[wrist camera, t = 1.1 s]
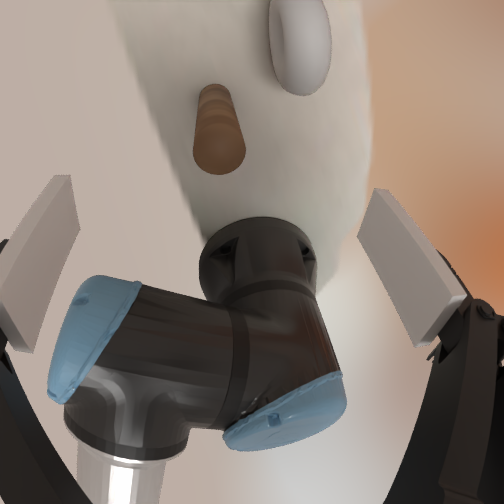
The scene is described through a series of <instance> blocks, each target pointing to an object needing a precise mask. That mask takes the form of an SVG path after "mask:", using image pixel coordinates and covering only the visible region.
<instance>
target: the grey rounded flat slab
mask: <svg viewBox="0 0 504 504" xmlns="http://www.w3.org/2000/svg"><path fill="white" fill-rule="evenodd" d="M269 39H270V49H271V55H272V61H273V66H274V70H275V74H276V77H277V79H278V81H279V82H280V84H281V86H282V87H283V88H284V89H285V90H286V91H287V92H289V93H292V94H294V95H299V96H307V95H311V94H312V93H314V92H316V91H317V90H318V89H319V88H320V87H321V86H322V84H323V83H324V81H325V79H326V76H327V73H328V70H329V66H330V60H331V45H332V40H331V29H330V23H329V18H328V14H327V11H326V9H325V6H324V4H323V2H322V0H271V2H270V7H269Z"/></svg>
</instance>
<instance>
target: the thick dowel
mask: <svg viewBox="0 0 504 504" xmlns="http://www.w3.org/2000/svg"><path fill="white" fill-rule="evenodd" d="M245 153H246V147H245V143H244V139H243V136H242V133H241V129H240V126H239V123H238V119H237V116H236V113H235V109H234V106H233V103H232V99H231V96H230V93H229V91H228V90H227V89H226V88H225V87H224V86H222V85H219V84H211V85H208V86H207V87H205V88H204V89H203V90H202V91H201V93H200V96H199V104H198V112H197V120H196V128H195V137H194V146H193V156H194V160H195V162H196V163H197V165H198V166H199V167H200V168H201V169H202V170H204V171H205V172H207V173H210V174H214V175H223V174H227V173H230V172H232V171H234V170H235V169H237V168H238V167H239V166H240V165H241V163H242V162H243V160H244V157H245Z"/></svg>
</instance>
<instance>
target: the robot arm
mask: <svg viewBox="0 0 504 504" xmlns="http://www.w3.org/2000/svg"><path fill="white" fill-rule="evenodd" d="M79 230H80V226H79V222H78V216H77V211H76V206H75V201H74V196H73V189H72V184H71V177H70V175H55V176H54V177H53V178H52V179H51V181H50V182H49V183H48V184H47V186H46V187H45V189H44V190H43V191H42V192H41V194H40V195H39V197H38V198H37V200H36V201H35V202H34V203H33V205H32V206H31V208H30V209H29V210H28V212H27V213H26V215H25V216H24V218H23V219H22V221H21V222H20V224H19V225H18V227H17V228H16V230H15V231H14V233H13V234H12V236H11V237H10V239H8V240H7V239H4V240H3V241H2V242H1V243H0V496H1V498H2V500H3V501H4V503H5V504H158V503H159V498H160V492H161V486H162V481H163V476H164V470H165V465H166V461H169V460H171V459H174V458H176V457H177V456H179V455H180V454H181V453H182V452H183V451H184V450H185V448H186V444H187V441H188V436H189V432H190V429H191V428H202V429H205V428H206V429H216V430H217V429H218V430H222V431H224V434H223V440H224V441H225V443H226V445H227V446H228V447H229V448H230V449H232V450H237V451H258V450H265V449H270V448H275V447H279V446H284V445H287V444H291V443H294V442H297V441H299V440H302V439H305V438H307V437H310V436H312V435H314V434H317V433H319V432H320V431H322V430H324V429H326V428H328V427H329V426H330V425H332V424H334V423H335V422H336V421H337V420H338V419H339V418H340V417H341V416H342V415H343V413H344V411H345V409H346V405H347V399H346V394H345V390H344V386H343V382H342V376H343V374H342V372H341V370H340V367H339V364H338V361H337V358H336V355H335V352H334V350H333V346H332V344H331V341H330V338H329V335H328V332H327V329H326V327H325V324H324V321H323V318H322V315H321V312H320V310H319V307H318V304H317V301H316V298H315V292H316V277H317V261H316V256H315V253H314V250H313V248H312V245H311V243H310V241H309V239H308V238H307V236H306V235H305V234H304V233H303V232H302V231H301V230H300V229H299V228H297V227H296V226H294V225H293V224H291V223H288V222H286V221H283V220H280V219H275V218H262V217H261V218H250V219H245V220H241V221H238V222H236V223H233V224H231V225H229V226H227V227H225V228H223V229H222V230H220V231H219V232H217V233H216V234H215V235H214V236H213V237H212V238H211V239H210V240H209V241H208V242H207V244H206V245H205V247H204V249H203V251H202V253H201V256H200V260H199V280H200V285H201V288H202V290H203V293H204V295H205V297H206V299H207V301H206V300H202V299H198V298H194V297H190V296H186V295H182V294H177V293H174V292H170V291H166V290H162V289H158V288H154V287H151V286H147V285H143V284H142V283H141V282H139V281H134V282H130V281H126V280H121V279H117V278H113V277H108V276H103V275H96V276H92V277H90V278H88V279H87V280H86V281H84V283H82V285H81V286H80V288H79V289H78V290H77V292H76V294H75V296H74V298H73V300H72V302H71V304H70V307H69V309H68V311H67V314H66V316H65V319H64V322H63V324H62V327H61V330H60V333H59V336H58V339H57V342H56V345H55V349H54V353H53V356H52V360H51V365H50V369H49V374H48V382H47V383H48V389H47V394H48V396H49V398H51V399H52V400H54V401H55V402H56V403H58V404H64V423H65V426H66V428H67V430H68V431H69V433H70V434H71V435H72V436H73V437H74V438H75V439H76V440H77V441H78V455H77V482H76V480H75V479H74V478H73V476H72V474H71V473H70V472H69V470H68V469H67V467H66V466H65V464H64V462H63V461H62V459H61V458H60V456H59V455H58V453H57V451H56V450H55V448H54V447H53V445H52V443H51V441H50V440H49V438H48V436H47V435H46V433H45V431H44V429H43V427H42V426H41V424H40V422H39V420H38V418H37V417H36V414H35V413H34V411H33V409H32V407H31V405H30V403H29V401H28V399H27V396H26V394H25V392H24V390H23V388H22V386H21V384H20V381H19V379H18V377H17V374H16V372H15V370H14V367H13V365H12V362H11V360H10V358H9V355H8V353H7V352H6V351H5V347H6V344H7V341H9V343H10V344H11V346H12V347H13V349H14V350H15V351H21V352H27V353H33V351H34V348H35V345H36V341H37V338H38V335H39V332H40V329H41V326H42V323H43V320H44V317H45V314H46V311H47V308H48V305H49V303H50V300H51V297H52V294H53V292H54V289H55V286H56V284H57V281H58V279H59V276H60V274H61V271H62V269H63V266H64V264H65V262H66V259H67V257H68V255H69V253H70V250H71V248H72V246H73V243H74V241H75V239H76V237H77V235H78V232H79ZM357 238H358V239H359V241H360V243H361V244H362V246H363V248H364V250H365V252H366V253H367V255H368V257H369V259H370V261H371V262H372V264H373V266H374V268H375V270H376V272H377V273H378V275H379V277H380V279H381V281H382V282H383V285H384V287H385V289H386V290H387V292H388V294H389V296H390V298H391V300H392V302H393V304H394V306H395V308H396V310H397V312H398V314H399V316H400V318H401V320H402V322H403V324H404V326H405V328H406V330H407V332H408V335H409V337H410V339H411V341H412V343H413V345H414V347H421V346H427V345H430V344H431V342H432V341H433V340H434V339H435V337H436V336H437V335H438V336H439V338H440V340H441V342H440V343H439V344H438V345H437V346H436V348H435V349H434V350H433V351H432V352H431V354H430V355H429V356H428V358H427V360H430V359H431V357H432V356H434V360H433V361H432V363H433V365H432V369H431V373H430V377H429V381H428V384H427V388H426V392H425V396H424V399H423V402H422V405H421V409H420V412H419V415H418V418H417V421H416V424H415V427H414V431H413V433H412V436H411V439H410V442H409V444H408V447H407V450H406V452H405V455H404V458H403V460H402V463H401V465H400V468H399V471H398V472H397V475H396V477H395V480H394V482H393V484H392V486H391V489H390V491H389V493H388V495H387V498H386V499H385V501H384V503H383V504H504V366H502V363H501V361H502V360H503V359H504V316H501V315H497V314H496V313H495V311H494V309H493V308H492V307H491V306H490V305H489V304H488V303H487V302H485V301H484V300H481V299H473V297H472V295H471V294H470V293H469V291H468V290H467V288H466V287H465V285H464V283H463V282H462V281H461V279H460V278H459V276H458V275H456V272H455V270H454V269H453V268H451V265H450V263H449V262H448V261H447V259H446V258H445V257H444V256H443V255H442V254H441V253H440V252H439V251H437V250H436V249H435V248H434V247H433V245H432V244H431V242H430V241H429V240H428V238H427V237H426V236H425V235H424V233H423V232H422V231H421V229H420V228H419V227H418V226H417V224H416V223H415V222H414V220H413V219H412V218H411V217H410V215H408V213H407V212H406V211H405V209H404V208H403V207H402V206H401V205H400V203H399V202H398V201H397V200H396V199H395V197H394V196H393V195H392V194H391V193H390V192H389V190H385V189H377V188H374V191H373V194H372V197H371V200H370V202H369V205H368V208H367V211H366V213H365V216H364V219H363V222H362V224H361V227H360V230H359V232H358V235H357Z"/></svg>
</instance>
